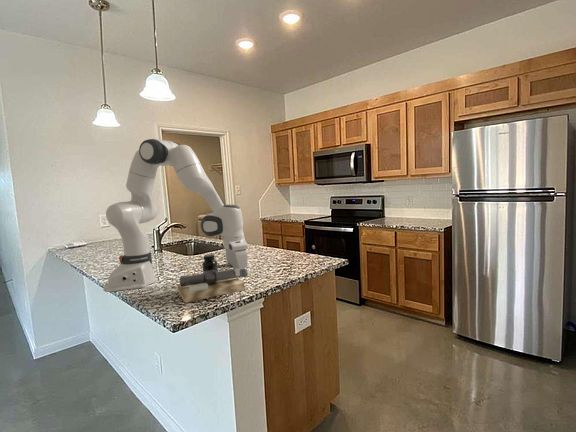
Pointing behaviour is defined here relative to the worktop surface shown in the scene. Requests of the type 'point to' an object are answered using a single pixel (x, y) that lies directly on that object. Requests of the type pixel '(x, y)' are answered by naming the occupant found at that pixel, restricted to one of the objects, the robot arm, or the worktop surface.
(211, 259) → the supplement bottle
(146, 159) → the robot arm
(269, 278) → the worktop surface
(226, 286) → the levelling stand
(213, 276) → the dark grey bar
